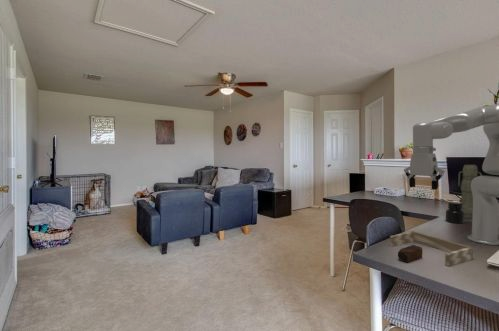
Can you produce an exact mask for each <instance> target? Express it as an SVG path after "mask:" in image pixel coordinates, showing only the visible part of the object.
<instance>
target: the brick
mask: <svg viewBox="0 0 499 331" xmlns="http://www.w3.org/2000/svg"><path fill="white" fill-rule="evenodd" d="M397 258H398V260H399V261H402V262H404V263H407V264H408V263H412V261H413V262H415V261H418V260H421V259H423V247H421V246H418V245H415V244H412V245H411V244H410V245H408V246H405V247H402V248H400V249H399V250H398V252H397Z"/></svg>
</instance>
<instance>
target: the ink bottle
mask: <svg viewBox="0 0 499 331" xmlns="http://www.w3.org/2000/svg"><path fill="white" fill-rule="evenodd" d="M447 208H448V209H446V210H445V221H446V222H447V223H451V224H464V223H465V218H464V212H463V211H462V203H461V202H459V201H448V202H447Z"/></svg>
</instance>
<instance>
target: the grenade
mask: <svg viewBox="0 0 499 331" xmlns="http://www.w3.org/2000/svg"><path fill="white" fill-rule="evenodd" d="M457 174H458V175H457V176H458V180H457V181H458V182H457V186H458V187H460V191H461V196H460V197H461V199H460V200H461V202H460V203H462V211H463V212H464V219H471V220H472V215H473V195H472V190H471V182H472V180H473V179H474V178H475V177H478V176H483V174H482V172H480V171H479V170H478V165H476V164H464V165H463V168H462V170H461V171H459V172H458V173H457ZM461 174H462V179H461ZM478 174H479V175H478Z"/></svg>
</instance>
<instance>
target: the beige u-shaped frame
mask: <svg viewBox="0 0 499 331" xmlns="http://www.w3.org/2000/svg"><path fill="white" fill-rule="evenodd" d="M413 242H415V243H417V244H421V245H424V246H428V247H431V248H434V249H437V250H440V251H444V252H445V256H444V265H445V266H446V267H452V266H454V265H458V264H461V263H463V262H467V261H470V260H473V259H474V247H472V246H468V245H465V244H461V243H458V242H453V241H449V240H447V239H443V238H440V237H436V236H432V235H428V234H424V233H421V232H418V231H407V232H404V233H403V232H402V233H398V234H394V235H393V234H392V235H390V236H389V246H390V247H394V246H400V244H401V245H404V244H409V243H413Z"/></svg>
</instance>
